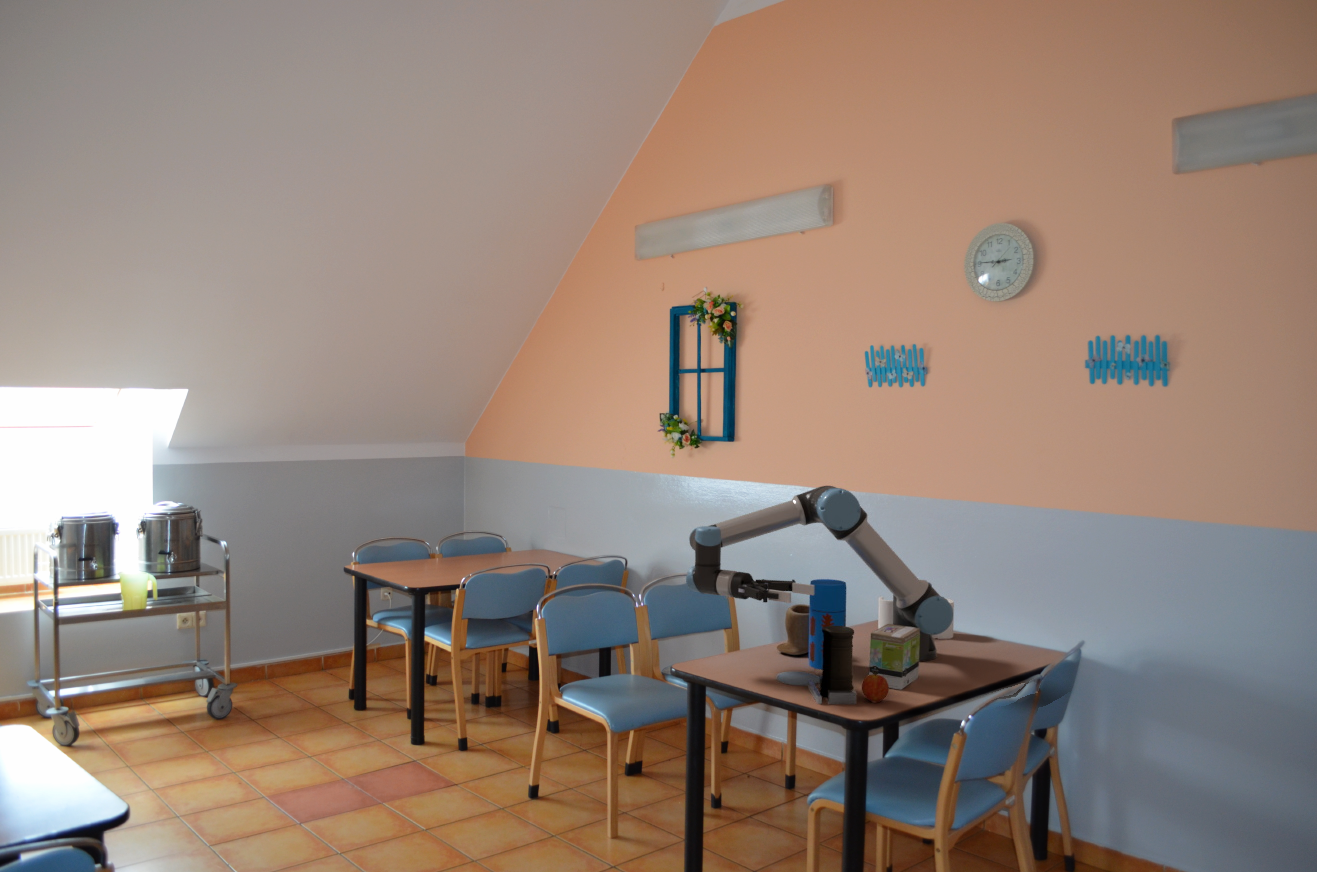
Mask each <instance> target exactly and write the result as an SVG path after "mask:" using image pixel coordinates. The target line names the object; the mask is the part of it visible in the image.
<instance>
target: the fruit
mask: <svg viewBox="0 0 1317 872" xmlns="http://www.w3.org/2000/svg"><path fill="white" fill-rule="evenodd" d="M876 674H877V671H876ZM876 674H872V675H869V674H868V675H867V676H865V677H863V680H862V682H861V691H862V694H863V696H864V697H865V698H866V699H867V700H869V701H871V702H872V703H880V702H881V701H884V699H886V698H887V697H888V694H889V692H890V691H889V690H890V688H889V686H888V683H887V681H886V679H885V678H884V677H882V676H880V675H876Z"/></svg>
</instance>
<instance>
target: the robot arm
mask: <svg viewBox="0 0 1317 872" xmlns="http://www.w3.org/2000/svg"><path fill="white" fill-rule="evenodd" d="M860 505H861V504H860V502H859V500H858V498H857V497H856V496H855V495H854V494H853V493H852V492H851V491H849V490H847V489H844V488H842V487H836V486H834V485H822V486H818V487H816V488H813V489H811V490H807V491H805V492H803V493H800V494H797V495H794V496H793V497H792V499H791V500H788V501H785V502H782V503H779V504H776V505H771V506H769V507H765V508H763V509H759V510H756V511H753V512H749V513H747V514H746V513H745V514H743V515H740V516H736V517H733V518H730V519H727V520H724V521H720V522H717V523H714V524H711V525H708V526H705V525H704V526H703V525H702V526H697V527H695V528H694V529H693V530H692V531H691V532H690V534H689V537H688V540H689V545H690V547H691V549H692V550H693V551H695V552H694V558H695V559H694V560H695V562H694V565H692V566H691V567H689V568H688V570H687V572H686V573H687V575H685V576H686V577H685V583H686V587H687V588H688V589H689V590H690V591H692V592H696V593H700V594H703V595H704V594H706V595H713V596H722V597H725V599H730V598H734V599H739V600H747V599H749V598H750V599H753V600H757V601H762V603H768V601H774V602H780V603H781V602H782V603H786V604H787V603H788V604H790V603H792V594H800V595H807V596H808V595H809V596H810V595H814V585H810V584H807V583H801V582H800V583H799V582H796V581H795V579H792V580H777V579H775V580H774V579H773V580H772V579H765V578H763V579H755V580H754V578H753V576H752V574H750V573H749V572H745V571H743V572H742V571H736V570H728V569H721V565H722V564H721V555H722V553H721V552H722V548H725V547H728V546H730V545H731V546H732V545H734V544H738V543H740V542H745V541H747V540H751V539H754V538H757V537H759V536H760V537H761V536H764V535H766V534H767V535H768V534H770V533H773V532H777V531H781V530H784V529H787V528H790V527H793V526H797V525H799V524H800V525H802V526H803V527H804V526H807V525H811V524H812V525H813V524H818V523H819V524H822V525H824V527H825V528H826V529H827V530H828V531H829V532H830V533H831V534H832V536H833V537H835V539H836V540H837V541H845V542H846V543H847V545H849V547H850V549H852V550H853V551H854V553H855V554H856V555H857V556H858V557H859V558H860V559H861V560H862V562H864V563H865V566H867V567H868V568H869V569H870V571H871V572H872V573H873V574H874V575H875V576H876V577H877V578H878V579H879V580H880V581H881V582H882V584H883V586H885V587H886V588H887V589H888V590H889V592H890V593H891V594H892V596H893V597H892V601H893V625H900V626H907V627H914V628H920V649H919V662H923V661H924V662H925V661H926V662H927V661H931V660H934V659H936V658H937V653H938V651H937V646H936V643H935V639H934V638H933V636H932V635H937V634H940V633H942V632H944V631H945V630H947V629H948V628H949V626H950V625H951V623H952V620H953V608H952V606H951V604H950V603H949V602H948V600H947V599H945V598H946V597H944V596H941V595H940V594H939V592H937V591H936V589H935V588H934V587H933V586H932V585H933V584H932V583H931V582H928V581H927V580H926V579H920V578H918V577H917V576H916V575H915V574H914V572H913V571H912V570H911V569H910V568H909V567H908V566H907V565H906V563H904V561H903V560H902V559H901V558H900V557H899V555H898V554H897V553H895V551H893V549H892V548H891V547H890V545H888V543H887V542H886V541H885V540H884V539H883V538H882V537H881V535H880V534H879V533H878V532H877V531H876V530H875V528H873V526H872V525H871V524H870V523H869V522H868V516H869V514H868V513H867V512H866V511H865V510H864V509H863V508H862V506H860Z"/></svg>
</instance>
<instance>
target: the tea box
mask: <svg viewBox="0 0 1317 872" xmlns="http://www.w3.org/2000/svg"><path fill="white" fill-rule="evenodd" d="M869 641H870V642H869V643H870V645H869V646H870V647H869V667H868V668H869V669H868V675H872V674H876V671H877V674H876V675H880V676H882V677H884V678H885V679H886V681H887V683H888V686H889V689H894V690H900V691H901V690H903V689H904V688H905V687H907V686H909V685H910V684H912V683H913V682H914V681H916V680H917V679H918V678H919V671H920V669H919V668H920V661H919V649H920V628H914V627H907V626H900V625H893V624H887V625H885V626H883V627H881V628H879V629H878V628H877V629H875V630H873V631H872V632H870V639H869Z"/></svg>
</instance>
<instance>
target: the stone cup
mask: <svg viewBox="0 0 1317 872" xmlns="http://www.w3.org/2000/svg"><path fill="white" fill-rule="evenodd" d="M784 624H785V625H784V626H785V630H786V634H787V641H786V642H783V643H780V644H778V645H776V646H775V647H776V650H777V651H779V652H780V653H783V654H787V655H792V656H799V655H804V654H809V604H802V603H800V604H797V603H796V604H794V605H792V606H790V607H788V608H787V610H786V612H785V621H784Z"/></svg>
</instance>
